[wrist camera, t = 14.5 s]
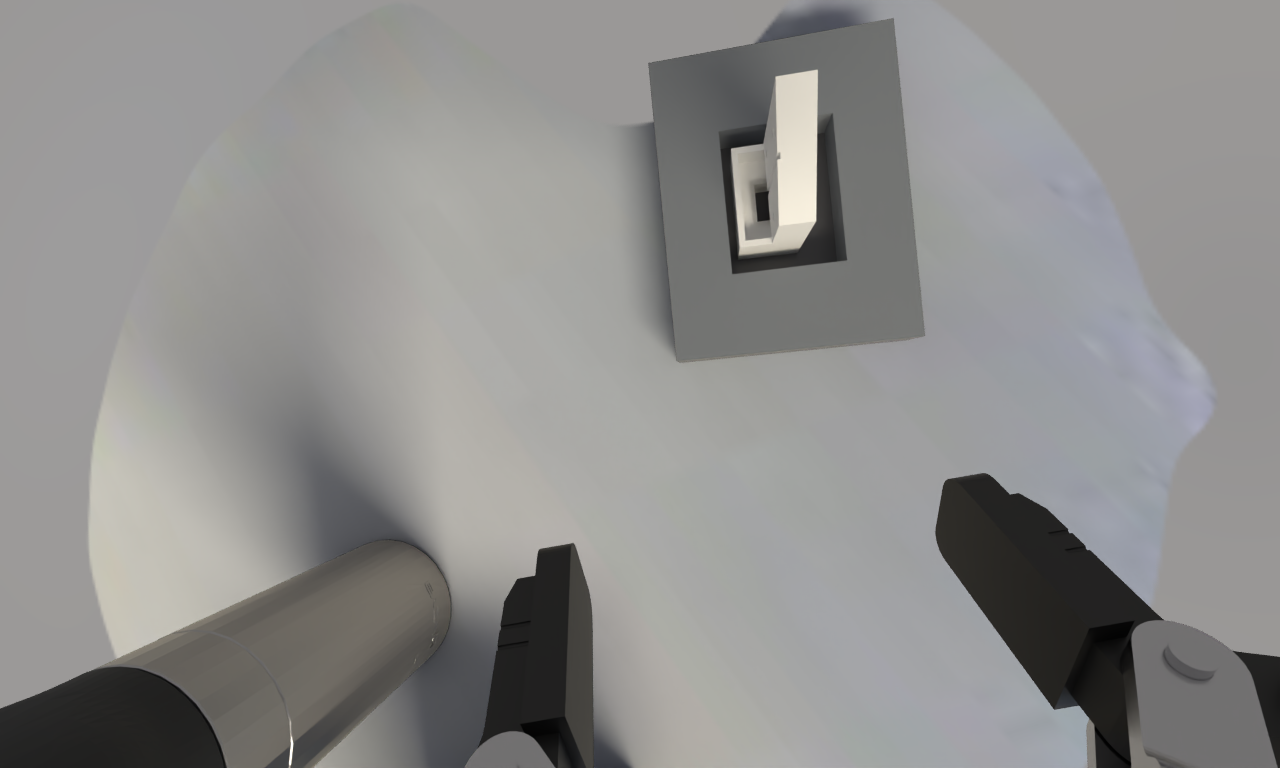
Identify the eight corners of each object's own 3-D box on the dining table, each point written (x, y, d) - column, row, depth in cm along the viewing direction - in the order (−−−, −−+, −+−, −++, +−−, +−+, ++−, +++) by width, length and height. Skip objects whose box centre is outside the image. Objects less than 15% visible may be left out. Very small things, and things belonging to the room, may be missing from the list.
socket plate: (680, 362, 35) (676, 361, 32) (654, 89, 36) (648, 63, 33) (906, 340, 33) (925, 335, 30) (878, 50, 34) (893, 18, 31)
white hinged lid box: (787, 69, 31) (817, 69, 24) (790, 240, 36) (815, 285, 29) (724, 79, 32) (734, 83, 24) (734, 246, 37) (745, 292, 29)
